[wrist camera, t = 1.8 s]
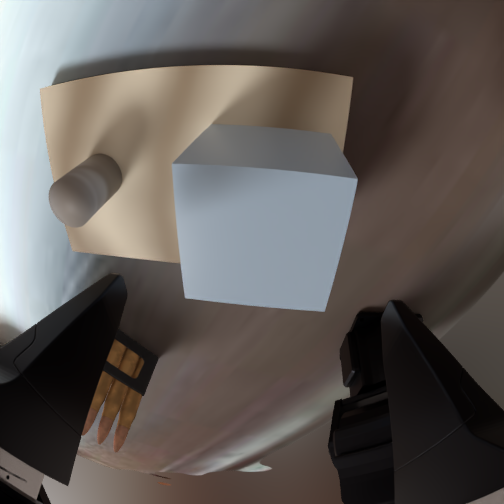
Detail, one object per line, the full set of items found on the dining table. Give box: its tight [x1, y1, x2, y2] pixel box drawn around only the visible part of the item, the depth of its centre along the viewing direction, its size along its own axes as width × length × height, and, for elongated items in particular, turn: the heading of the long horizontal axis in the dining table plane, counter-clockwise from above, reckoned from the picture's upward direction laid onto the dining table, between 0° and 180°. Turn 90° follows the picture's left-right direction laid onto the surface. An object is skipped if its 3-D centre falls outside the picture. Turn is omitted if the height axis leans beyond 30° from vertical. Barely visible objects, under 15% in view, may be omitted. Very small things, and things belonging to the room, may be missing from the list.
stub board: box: [40, 65, 353, 263], centre depth 16 cm, size 19×13×5 cm
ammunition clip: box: [82, 329, 158, 452], centre depth 24 cm, size 11×2×12 cm, turn 41°
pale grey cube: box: [172, 124, 358, 312], centre depth 14 cm, size 6×6×6 cm
